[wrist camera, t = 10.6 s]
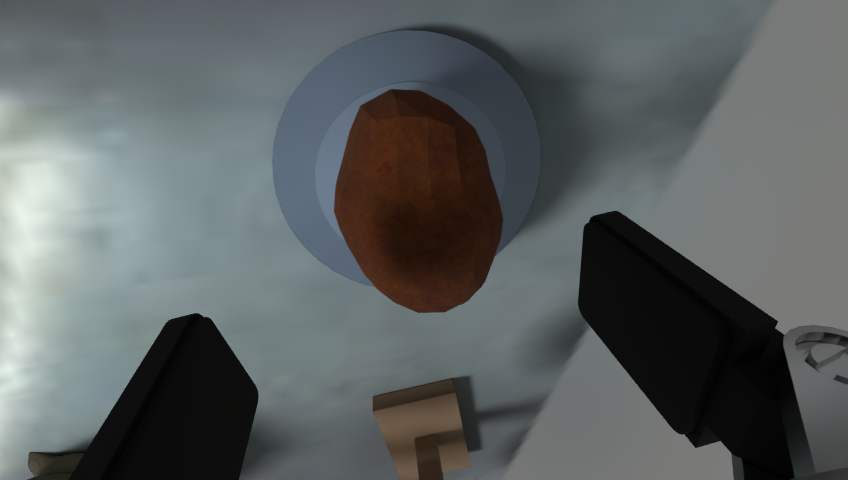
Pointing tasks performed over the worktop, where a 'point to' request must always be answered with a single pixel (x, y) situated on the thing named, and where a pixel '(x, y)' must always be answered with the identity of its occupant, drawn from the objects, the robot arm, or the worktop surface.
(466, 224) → the potato
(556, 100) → the worktop surface
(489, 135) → the plate
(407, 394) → the balance stand
